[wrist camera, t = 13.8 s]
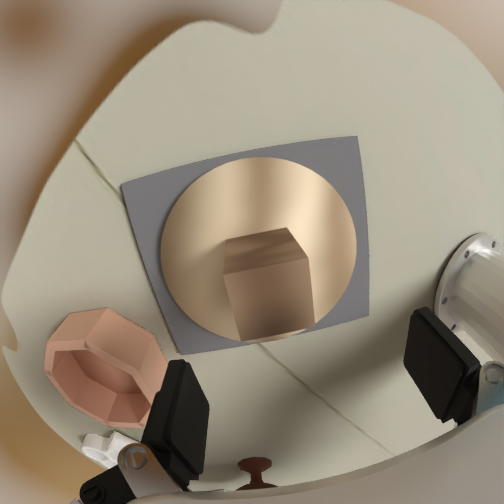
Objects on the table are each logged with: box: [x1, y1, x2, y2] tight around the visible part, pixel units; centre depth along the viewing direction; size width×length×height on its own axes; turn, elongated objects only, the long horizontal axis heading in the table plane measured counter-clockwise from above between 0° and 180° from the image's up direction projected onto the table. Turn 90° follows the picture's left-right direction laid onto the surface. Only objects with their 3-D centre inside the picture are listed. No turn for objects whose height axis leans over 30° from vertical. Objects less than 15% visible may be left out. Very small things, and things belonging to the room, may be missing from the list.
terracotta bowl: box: [44, 308, 168, 429], centre depth 22 cm, size 12×12×5 cm
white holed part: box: [81, 431, 140, 469], centre depth 31 cm, size 3×18×15 cm
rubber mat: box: [121, 136, 369, 355], centre depth 21 cm, size 18×16×1 cm
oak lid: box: [161, 157, 357, 342], centre depth 18 cm, size 15×15×7 cm
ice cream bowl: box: [235, 457, 278, 491], centre depth 26 cm, size 11×11×15 cm
